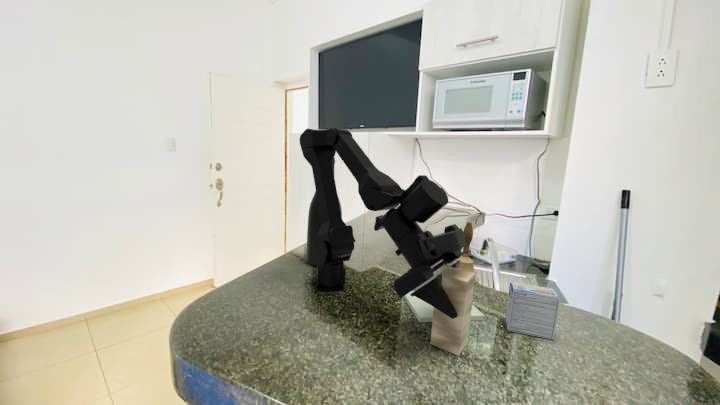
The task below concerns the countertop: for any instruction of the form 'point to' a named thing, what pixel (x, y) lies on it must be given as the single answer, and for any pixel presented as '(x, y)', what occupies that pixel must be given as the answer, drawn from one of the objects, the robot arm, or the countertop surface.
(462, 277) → the birch block
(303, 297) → the countertop surface
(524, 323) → the medicine box
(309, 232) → the beer bottle
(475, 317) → the sage board
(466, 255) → the hand bell
